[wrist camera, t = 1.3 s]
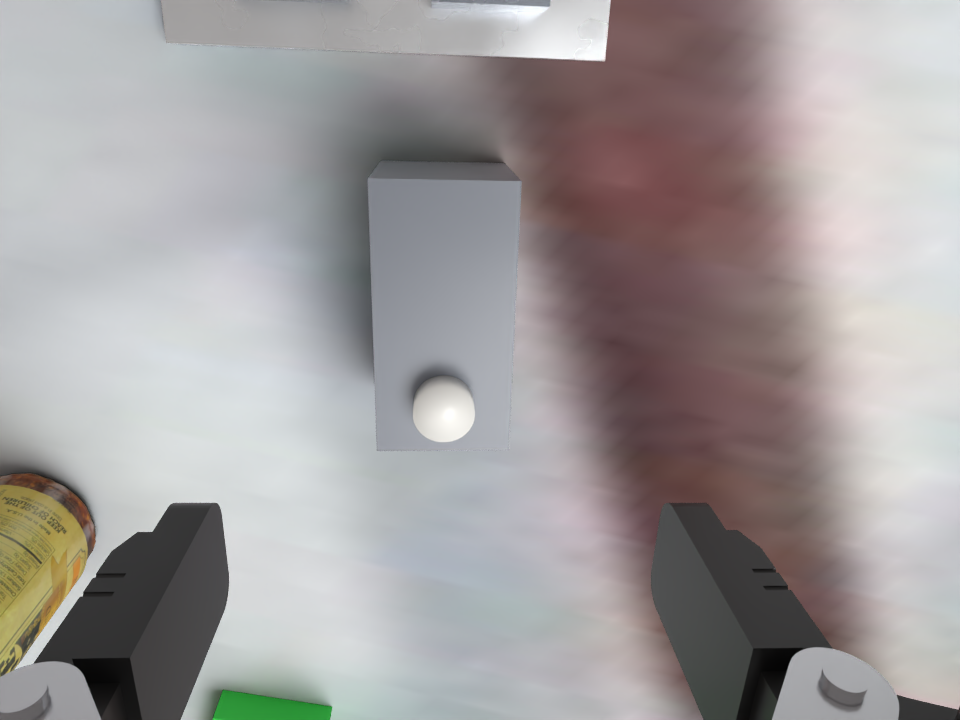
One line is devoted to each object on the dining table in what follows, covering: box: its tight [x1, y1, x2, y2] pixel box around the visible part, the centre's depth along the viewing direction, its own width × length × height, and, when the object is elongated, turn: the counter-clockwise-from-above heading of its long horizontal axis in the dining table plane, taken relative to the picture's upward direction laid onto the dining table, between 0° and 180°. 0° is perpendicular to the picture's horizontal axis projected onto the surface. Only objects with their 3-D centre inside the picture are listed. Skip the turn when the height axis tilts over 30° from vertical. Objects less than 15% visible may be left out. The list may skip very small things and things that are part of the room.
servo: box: [367, 161, 522, 451], centre depth 26 cm, size 5×10×7 cm, turn 179°
